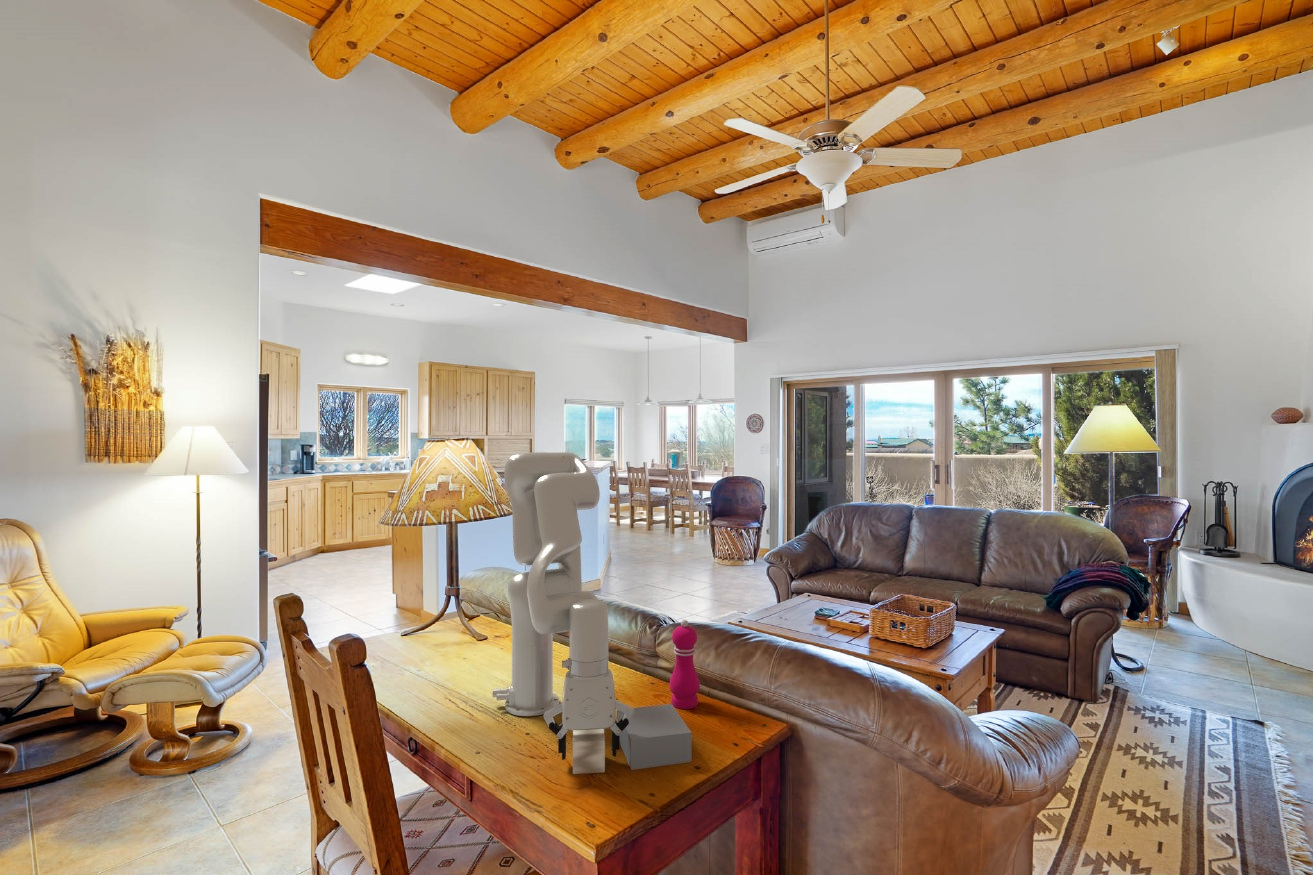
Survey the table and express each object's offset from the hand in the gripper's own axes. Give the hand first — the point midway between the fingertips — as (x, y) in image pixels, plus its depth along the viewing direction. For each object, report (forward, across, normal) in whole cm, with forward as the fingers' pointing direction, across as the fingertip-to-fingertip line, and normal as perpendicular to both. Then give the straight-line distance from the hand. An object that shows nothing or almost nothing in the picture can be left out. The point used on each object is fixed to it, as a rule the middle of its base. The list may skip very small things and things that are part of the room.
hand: (589, 754), depth 121 cm
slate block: (+2, +13, +5) cm, 14 cm away
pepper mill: (+2, +23, +26) cm, 35 cm away
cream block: (+2, 0, 0) cm, 2 cm away
